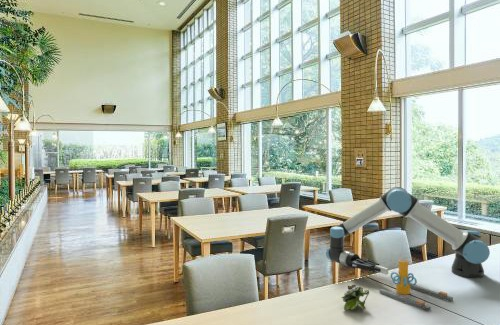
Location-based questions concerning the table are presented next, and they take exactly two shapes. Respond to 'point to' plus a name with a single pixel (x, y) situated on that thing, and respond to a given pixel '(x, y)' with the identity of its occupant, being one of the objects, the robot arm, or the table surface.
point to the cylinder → (403, 278)
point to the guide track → (418, 303)
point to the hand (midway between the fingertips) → (387, 271)
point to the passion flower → (354, 297)
